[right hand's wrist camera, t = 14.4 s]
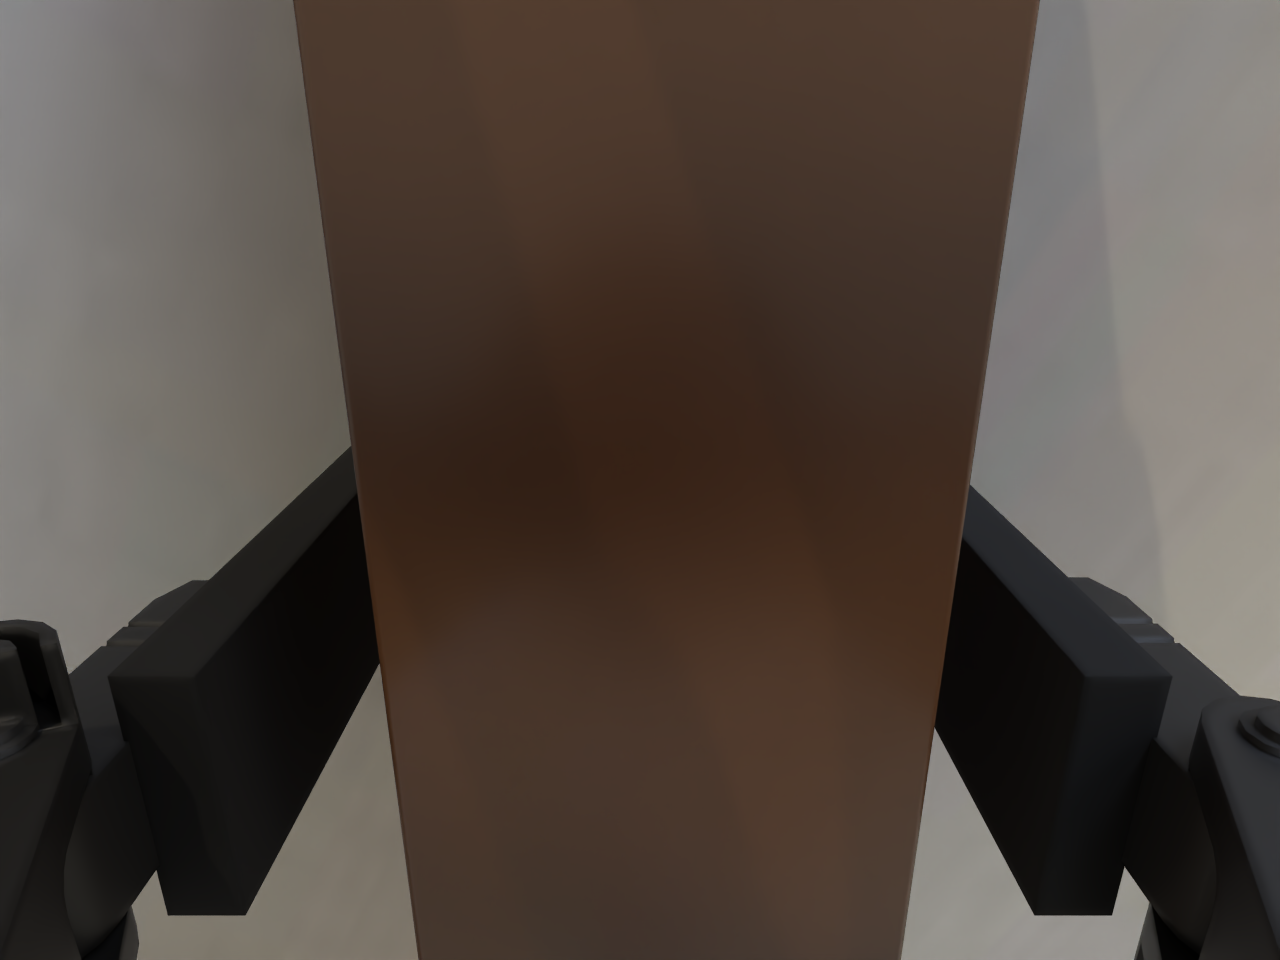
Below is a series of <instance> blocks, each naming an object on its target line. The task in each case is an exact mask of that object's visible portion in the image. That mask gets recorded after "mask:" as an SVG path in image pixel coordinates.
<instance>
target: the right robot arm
mask: <svg viewBox="0 0 1280 960" xmlns="http://www.w3.org/2000/svg"><path fill="white" fill-rule="evenodd" d="M379 663H380V660H379V653H378V645H377V638H376V630H375V622H374V615H373V607H372V599H371V592H370V584H369V576H368V569H367V561H366V553H365V546H364V538H363V531H362V523H361V515H360V508H359V500H358V492H357V485H356V477H355V469H354V462H353V454H352V446H351V447H350V448H348V449H347V450H346V451H345V452H344V453H343V454H342V455H341V456H340V457H339V458H338V459H337V460H336V461H335V462H334V463H333V464H332V465H330V466H329V467H328V468H327V469H326V470H325V471H324V472H323V473H322V474H321V475H320V476H319V477H318V478H317V479H316V480H315V481H314V482H312V483H311V484H310V485H309V486H308V487H307V488H306V489H305V490H304V491H303V492H302V493H301V494H300V495H299V496H298V497H297V498H296V499H294V500H293V501H292V502H291V503H290V504H289V505H288V506H287V507H286V508H285V509H284V510H283V511H282V512H281V513H280V514H279V515H278V516H276V517H275V518H274V519H273V520H272V521H271V522H270V523H269V524H268V525H267V526H266V527H265V528H264V529H263V530H262V531H261V532H260V533H259V534H257V535H256V536H255V537H254V538H253V539H252V540H251V541H250V542H249V543H248V544H247V545H246V546H245V547H244V548H243V549H242V550H241V551H239V552H238V553H237V554H236V555H235V556H234V557H233V558H232V559H231V560H230V561H229V562H228V563H227V564H226V565H225V566H224V567H223V568H221V569H220V570H219V571H218V572H217V573H216V574H215V575H214V576H213V577H212V578H211V579H210V580H192V581H190V582H188V583H186V584H184V585H183V586H181V587H179V588H177V589H175V590H173V591H171V592H169V593H167V594H165V595H163V596H161V597H159V598H157V599H155V600H153V601H152V602H151V603H150V604H149V605H148V606H147V607H146V608H144V609H143V610H142V611H141V612H140V613H139V614H138V615H136V616H135V617H134V618H133V619H132V620H131V621H130V622H129V625H128V627H123V628H122V629H120V630H119V631H118V632H117V633H116V634H115V635H114V636H113V637H111V638H110V639H109V640H108V641H107V646H101V647H100V648H99V649H98V650H97V651H95V652H94V653H93V654H92V655H91V656H90V657H89V658H87V659H86V660H85V661H84V662H83V663H82V664H81V665H79V666H78V667H77V668H76V669H75V670H74V671H73V672H72V673H70V674H69V675H68V672H67V668H66V664H65V661H64V657H63V653H62V650H61V646H60V642H59V639H58V635H57V631H56V630H55V629H53V628H52V627H50V626H48V625H47V624H45V623H43V622H36V621H27V620H8V621H0V960H136V959H137V953H138V947H139V939H138V932H137V925H136V921H135V918H134V914H133V910H132V907H131V905H132V904H133V902H134V901H135V899H136V898H137V897H138V895H139V894H140V892H141V891H142V889H143V888H144V887H145V885H146V884H147V882H148V881H149V879H150V878H151V876H152V875H153V874H154V872H155V871H156V870H157V874H158V878H159V882H160V886H161V890H162V894H163V898H164V901H165V905H166V909H167V913H168V915H246V913H247V911H248V910H249V908H250V906H251V904H252V902H253V900H254V898H255V896H256V895H257V893H258V891H259V889H260V887H261V885H262V883H263V881H264V879H265V878H266V876H267V874H268V872H269V870H270V868H271V866H272V864H273V863H274V861H275V859H276V857H277V855H278V853H279V851H280V849H281V847H282V846H283V844H284V842H285V840H286V838H287V836H288V834H289V832H290V831H291V829H292V827H293V825H294V823H295V821H296V819H297V817H298V816H299V814H300V812H301V810H302V808H303V806H304V804H305V802H306V800H307V799H308V797H309V795H310V793H311V791H312V789H313V787H314V785H315V784H316V782H317V780H318V778H319V776H320V774H321V772H322V770H323V768H324V767H325V765H326V763H327V761H328V759H329V757H330V755H331V753H332V752H333V750H334V748H335V746H336V744H337V742H338V740H339V738H340V737H341V735H342V733H343V731H344V729H345V727H346V725H347V723H348V721H349V720H350V718H351V716H352V714H353V712H354V710H355V708H356V706H357V705H358V703H359V701H360V699H361V697H362V695H363V693H364V691H365V689H366V688H367V686H368V684H369V682H370V680H371V678H372V676H373V674H374V673H375V671H376V669H377V667H378V665H379ZM934 727H935V729H936V731H937V733H938V735H939V736H940V738H941V740H942V742H943V744H944V746H945V748H946V750H947V752H948V753H949V755H950V757H951V759H952V761H953V763H954V765H955V767H956V768H957V770H958V772H959V774H960V776H961V778H962V780H963V782H964V784H965V785H966V787H967V789H968V791H969V793H970V795H971V797H972V799H973V800H974V802H975V804H976V806H977V808H978V810H979V812H980V814H981V815H982V817H983V819H984V821H985V823H986V825H987V827H988V829H989V831H990V832H991V834H992V836H993V838H994V840H995V842H996V844H997V846H998V847H999V849H1000V851H1001V853H1002V855H1003V857H1004V859H1005V861H1006V863H1007V864H1008V866H1009V868H1010V870H1011V872H1012V874H1013V876H1014V878H1015V879H1016V881H1017V883H1018V885H1019V887H1020V889H1021V891H1022V893H1023V894H1024V896H1025V898H1026V900H1027V902H1028V904H1029V906H1030V908H1031V910H1032V911H1033V913H1034V915H1112V913H1113V909H1114V905H1115V902H1116V898H1117V894H1118V890H1119V886H1120V882H1121V878H1122V874H1123V870H1124V866H1125V868H1126V869H1127V870H1128V872H1129V873H1130V875H1131V876H1132V878H1133V879H1134V880H1135V882H1136V883H1137V885H1138V886H1139V888H1140V889H1141V890H1142V892H1143V893H1144V895H1145V896H1146V898H1147V899H1148V900H1149V902H1150V903H1149V907H1148V910H1147V914H1146V918H1145V921H1144V925H1143V929H1142V932H1141V936H1140V940H1139V943H1138V947H1137V951H1136V954H1135V958H1134V960H1280V701H1276V700H1272V699H1266V698H1257V697H1247V696H1240V695H1239V694H1237V693H1236V692H1235V691H1234V690H1233V689H1232V688H1231V687H1229V686H1228V685H1227V684H1226V683H1225V682H1224V681H1223V680H1221V679H1220V678H1219V677H1218V676H1217V675H1216V674H1214V673H1213V672H1212V671H1211V670H1210V669H1209V668H1208V667H1206V666H1205V665H1204V664H1203V663H1202V662H1201V661H1200V660H1198V659H1197V658H1196V657H1195V656H1194V655H1193V654H1192V653H1190V652H1189V651H1188V650H1187V649H1186V648H1185V647H1183V646H1182V645H1181V644H1180V643H1174V638H1173V637H1172V636H1171V635H1170V634H1169V633H1167V632H1166V631H1165V630H1164V629H1163V628H1162V627H1161V626H1159V625H1158V624H1153V623H1152V619H1151V618H1150V617H1149V616H1148V615H1147V614H1146V613H1144V612H1143V611H1142V610H1141V609H1140V608H1139V607H1138V606H1136V605H1135V604H1134V603H1133V602H1132V601H1131V600H1130V599H1128V598H1127V597H1126V596H1124V595H1122V594H1120V593H1118V592H1116V591H1114V590H1112V589H1110V588H1108V587H1106V586H1104V585H1102V584H1100V583H1098V582H1096V581H1094V580H1092V579H1090V578H1068V577H1067V576H1066V575H1065V574H1064V573H1063V572H1062V571H1061V570H1060V569H1059V568H1058V567H1056V566H1055V565H1054V564H1053V563H1052V562H1051V561H1050V560H1049V559H1048V558H1047V557H1046V556H1045V555H1044V554H1043V553H1042V552H1041V551H1040V550H1038V549H1037V548H1036V547H1035V546H1034V545H1033V544H1032V543H1031V542H1030V541H1029V540H1028V539H1027V538H1026V537H1025V536H1024V535H1023V534H1022V533H1020V532H1019V531H1018V530H1017V529H1016V528H1015V527H1014V526H1013V525H1012V524H1011V523H1010V522H1009V521H1008V520H1007V519H1006V518H1005V517H1004V516H1002V515H1001V514H1000V513H999V512H998V511H997V510H996V509H995V508H994V507H993V506H992V505H991V504H990V503H989V502H988V501H987V500H986V499H984V498H983V497H982V496H981V495H980V494H979V493H978V492H977V491H976V490H975V489H974V488H973V487H972V486H971V485H969V492H968V498H967V505H966V512H965V519H964V526H963V533H962V540H961V547H960V554H959V561H958V567H957V574H956V581H955V588H954V595H953V602H952V609H951V616H950V623H949V629H948V636H947V643H946V650H945V657H944V664H943V671H942V678H941V685H940V691H939V698H938V705H937V712H936V719H935V726H934Z"/></svg>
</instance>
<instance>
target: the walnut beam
mask: <svg viewBox="0 0 1280 960" xmlns="http://www.w3.org/2000/svg"><path fill="white" fill-rule="evenodd" d="M1039 2H1040V0H293V3H294V11H295V18H296V26H297V34H298V41H299V49H300V57H301V64H302V72H303V80H304V87H305V95H306V103H307V110H308V118H309V125H310V133H311V141H312V148H313V156H314V164H315V171H316V179H317V187H318V194H319V202H320V210H321V217H322V225H323V232H324V240H325V248H326V255H327V263H328V271H329V278H330V286H331V294H332V301H333V309H334V317H335V324H336V332H337V339H338V347H339V355H340V362H341V370H342V378H343V385H344V393H345V401H346V408H347V416H348V424H349V431H350V439H351V446H352V454H353V462H354V469H355V477H356V485H357V492H358V500H359V508H360V515H361V523H362V531H363V538H364V546H365V553H366V561H367V569H368V576H369V584H370V592H371V599H372V607H373V615H374V622H375V630H376V638H377V645H378V653H379V660H380V668H381V676H382V683H383V691H384V699H385V706H386V714H387V722H388V729H389V737H390V745H391V752H392V760H393V767H394V775H395V783H396V790H397V798H398V806H399V813H400V821H401V829H402V836H403V844H404V852H405V859H406V867H407V874H408V882H409V890H410V897H411V905H412V913H413V920H414V928H415V936H416V943H417V951H418V959H419V960H901V953H902V947H903V940H904V933H905V926H906V919H907V912H908V905H909V898H910V891H911V884H912V878H913V871H914V864H915V857H916V850H917V843H918V836H919V829H920V822H921V816H922V809H923V802H924V795H925V788H926V781H927V774H928V767H929V760H930V754H931V747H932V740H933V733H934V726H935V719H936V712H937V705H938V698H939V691H940V685H941V678H942V671H943V664H944V657H945V650H946V643H947V636H948V629H949V623H950V616H951V609H952V602H953V595H954V588H955V581H956V574H957V567H958V561H959V554H960V547H961V540H962V533H963V526H964V519H965V512H966V505H967V498H968V492H969V485H970V478H971V471H972V464H973V457H974V450H975V443H976V436H977V430H978V423H979V416H980V409H981V402H982V395H983V388H984V381H985V374H986V368H987V361H988V354H989V347H990V340H991V333H992V326H993V319H994V312H995V305H996V299H997V292H998V285H999V278H1000V271H1001V264H1002V257H1003V250H1004V243H1005V237H1006V230H1007V223H1008V216H1009V209H1010V202H1011V195H1012V188H1013V181H1014V175H1015V168H1016V161H1017V154H1018V147H1019V140H1020V133H1021V126H1022V119H1023V112H1024V106H1025V99H1026V92H1027V85H1028V78H1029V71H1030V64H1031V57H1032V50H1033V44H1034V37H1035V30H1036V23H1037V16H1038V9H1039Z"/></svg>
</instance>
